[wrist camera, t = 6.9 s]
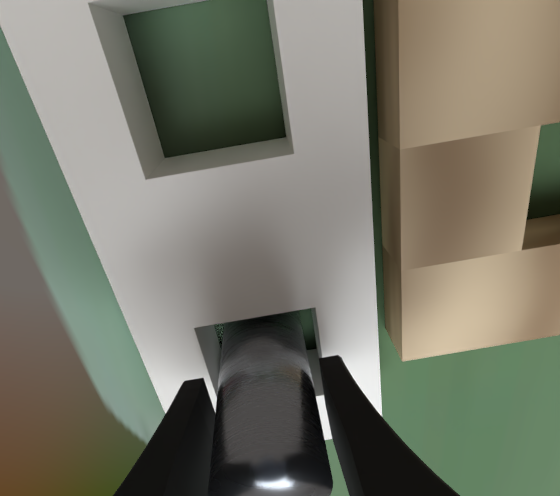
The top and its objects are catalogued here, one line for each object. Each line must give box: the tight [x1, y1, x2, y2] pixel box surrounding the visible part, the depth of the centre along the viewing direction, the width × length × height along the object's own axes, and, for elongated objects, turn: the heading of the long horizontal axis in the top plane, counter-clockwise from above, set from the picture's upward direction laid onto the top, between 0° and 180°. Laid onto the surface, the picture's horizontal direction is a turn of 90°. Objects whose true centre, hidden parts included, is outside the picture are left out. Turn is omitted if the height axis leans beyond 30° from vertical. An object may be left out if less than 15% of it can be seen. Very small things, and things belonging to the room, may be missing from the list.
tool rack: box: [0, 0, 382, 440], centre depth 12 cm, size 8×18×2 cm, turn 9°
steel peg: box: [208, 310, 333, 496], centre depth 12 cm, size 3×3×7 cm
